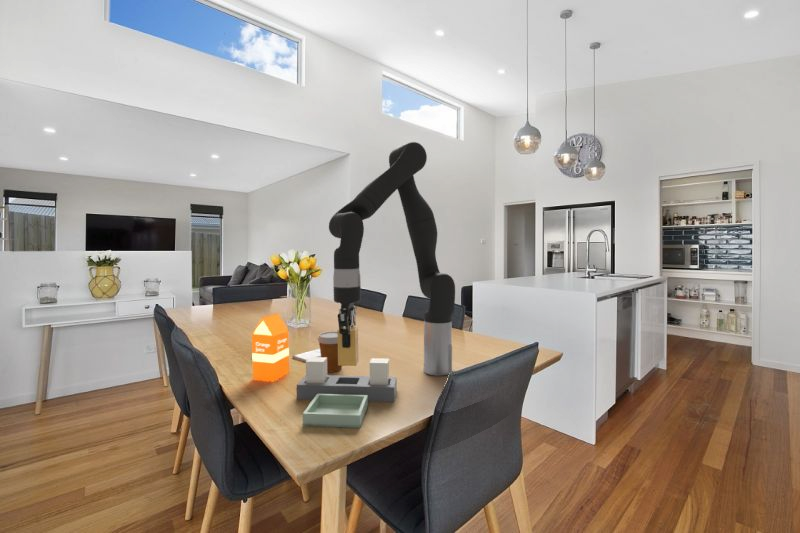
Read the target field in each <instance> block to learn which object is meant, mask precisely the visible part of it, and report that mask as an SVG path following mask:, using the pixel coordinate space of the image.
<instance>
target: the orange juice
mask: <svg viewBox="0 0 800 533" xmlns="http://www.w3.org/2000/svg"><path fill="white" fill-rule="evenodd" d="M289 336H290V335H289V329H288V328H287V325H286V324H285V322H284V321H283V319H282V318H281V316H280V314H279V312H278V313H277V312H276V313H274V314H271V315H266V316H264V317H261V319H260V320H259V322H258V324H257V325H256V326H255V329H254V330H253V332H252V333H251V346H252V348H251V351H252V352H251V355H252V356H251V358H252V361H251V362H252V380H253V379H254V380H253V381H260V380H263V381H262V382H269V381H271V382H270V383H275V382H277V381H278V380H279V378H280V379H281V378H284V375H285V376H286V375H287V374H289V373H290V346H289V345H290V344H289V343H290V342H289V340H290V338H289ZM274 381H275V382H274Z"/></svg>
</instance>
